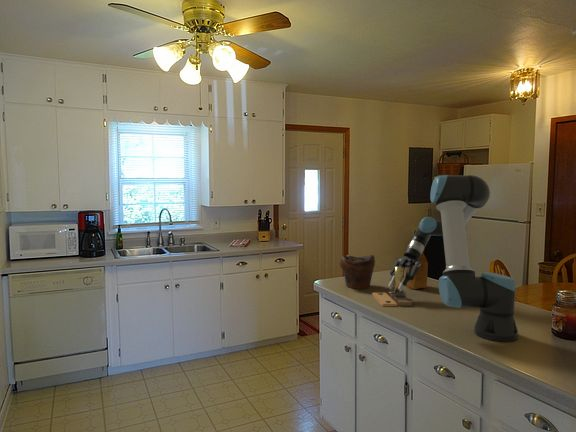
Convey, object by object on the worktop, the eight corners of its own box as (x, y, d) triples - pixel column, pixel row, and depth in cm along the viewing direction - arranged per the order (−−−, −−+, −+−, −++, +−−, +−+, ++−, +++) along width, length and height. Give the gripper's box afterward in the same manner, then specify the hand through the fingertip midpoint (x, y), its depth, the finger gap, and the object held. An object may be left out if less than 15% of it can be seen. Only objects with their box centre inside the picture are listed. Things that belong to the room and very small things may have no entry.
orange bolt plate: (397, 306, 198) (397, 303, 198) (382, 306, 198) (382, 303, 198) (385, 294, 218) (385, 292, 218) (372, 294, 218) (372, 292, 218)
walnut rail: (411, 306, 199) (412, 291, 198) (395, 306, 198) (395, 291, 198) (399, 294, 219) (399, 281, 218) (384, 294, 218) (384, 281, 218)
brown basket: (333, 283, 240) (334, 252, 238) (362, 280, 248) (363, 250, 247) (350, 292, 224) (351, 258, 222) (381, 288, 232) (382, 256, 230)
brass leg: (405, 296, 206) (406, 268, 205) (390, 296, 206) (391, 268, 205) (401, 293, 212) (402, 265, 211) (387, 293, 212) (388, 265, 211)
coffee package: (418, 283, 242) (419, 245, 240) (429, 289, 230) (430, 249, 228) (401, 284, 240) (403, 246, 239) (412, 290, 228) (413, 249, 226)
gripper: (432, 258, 212) (413, 297, 202) (401, 253, 225) (382, 289, 215) (427, 249, 208) (407, 287, 198) (395, 245, 221) (376, 281, 211)
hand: (394, 288), depth 207 cm, fingers open, 5 cm apart
